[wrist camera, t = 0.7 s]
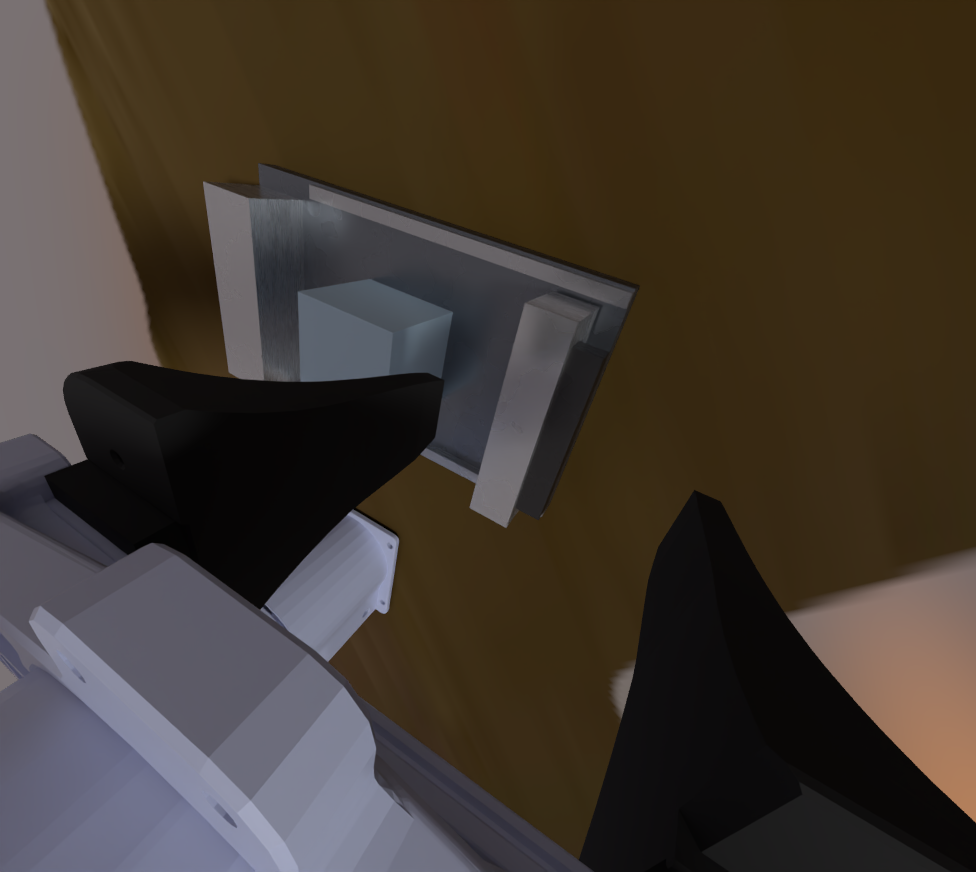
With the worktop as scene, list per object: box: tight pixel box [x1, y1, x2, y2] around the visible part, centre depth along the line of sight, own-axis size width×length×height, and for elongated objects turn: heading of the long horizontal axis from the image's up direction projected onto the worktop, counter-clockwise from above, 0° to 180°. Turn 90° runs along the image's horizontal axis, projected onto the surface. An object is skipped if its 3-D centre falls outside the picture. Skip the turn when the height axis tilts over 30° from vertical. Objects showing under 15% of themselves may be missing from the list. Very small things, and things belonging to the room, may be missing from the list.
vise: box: [203, 163, 640, 517], centre depth 21 cm, size 12×20×4 cm, turn 76°
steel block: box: [298, 279, 453, 382], centre depth 20 cm, size 5×5×4 cm
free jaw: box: [470, 291, 610, 527], centre depth 18 cm, size 10×3×3 cm, turn 166°
